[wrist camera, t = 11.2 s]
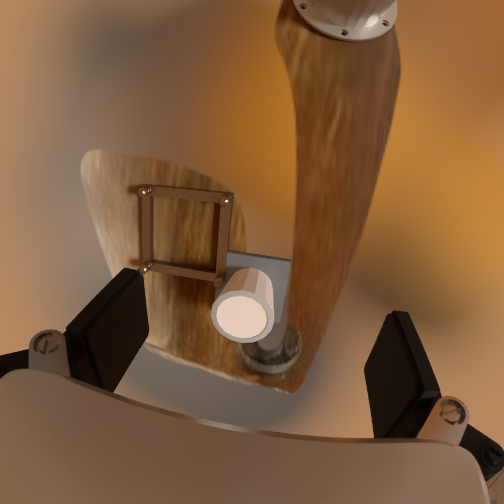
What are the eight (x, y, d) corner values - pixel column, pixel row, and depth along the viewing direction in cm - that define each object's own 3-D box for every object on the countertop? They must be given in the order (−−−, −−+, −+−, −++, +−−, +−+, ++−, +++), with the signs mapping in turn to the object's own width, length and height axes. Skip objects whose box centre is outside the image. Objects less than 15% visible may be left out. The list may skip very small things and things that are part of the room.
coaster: (219, 248, 37) (217, 251, 37) (291, 259, 37) (291, 262, 36) (215, 309, 41) (213, 312, 40) (280, 319, 40) (279, 323, 39)
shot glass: (223, 261, 37) (208, 287, 31) (279, 264, 36) (275, 293, 30) (224, 308, 40) (212, 340, 33) (276, 312, 39) (272, 346, 32)
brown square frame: (145, 184, 36) (136, 187, 33) (233, 193, 35) (229, 197, 32) (146, 266, 40) (138, 273, 38) (226, 280, 39) (221, 289, 37)
